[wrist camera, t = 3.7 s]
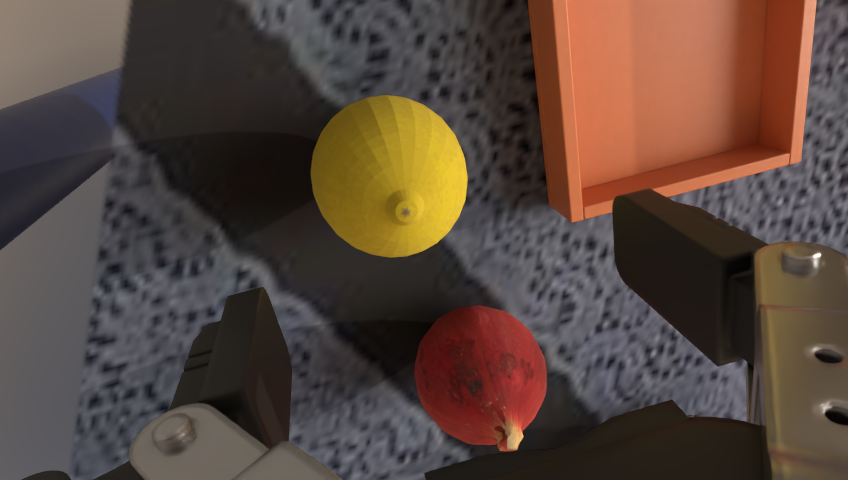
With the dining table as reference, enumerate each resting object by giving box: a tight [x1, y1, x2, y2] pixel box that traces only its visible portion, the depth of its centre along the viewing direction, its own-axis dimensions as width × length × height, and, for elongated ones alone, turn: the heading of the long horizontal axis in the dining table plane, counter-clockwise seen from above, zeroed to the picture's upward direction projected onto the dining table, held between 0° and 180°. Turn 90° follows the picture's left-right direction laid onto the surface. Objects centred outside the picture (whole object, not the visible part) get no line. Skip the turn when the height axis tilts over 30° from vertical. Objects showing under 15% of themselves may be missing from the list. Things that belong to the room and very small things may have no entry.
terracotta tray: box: [528, 0, 817, 222], centre depth 24 cm, size 11×11×2 cm
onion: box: [414, 305, 547, 451], centre depth 25 cm, size 6×6×8 cm
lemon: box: [311, 95, 468, 257], centre depth 20 cm, size 6×6×8 cm
